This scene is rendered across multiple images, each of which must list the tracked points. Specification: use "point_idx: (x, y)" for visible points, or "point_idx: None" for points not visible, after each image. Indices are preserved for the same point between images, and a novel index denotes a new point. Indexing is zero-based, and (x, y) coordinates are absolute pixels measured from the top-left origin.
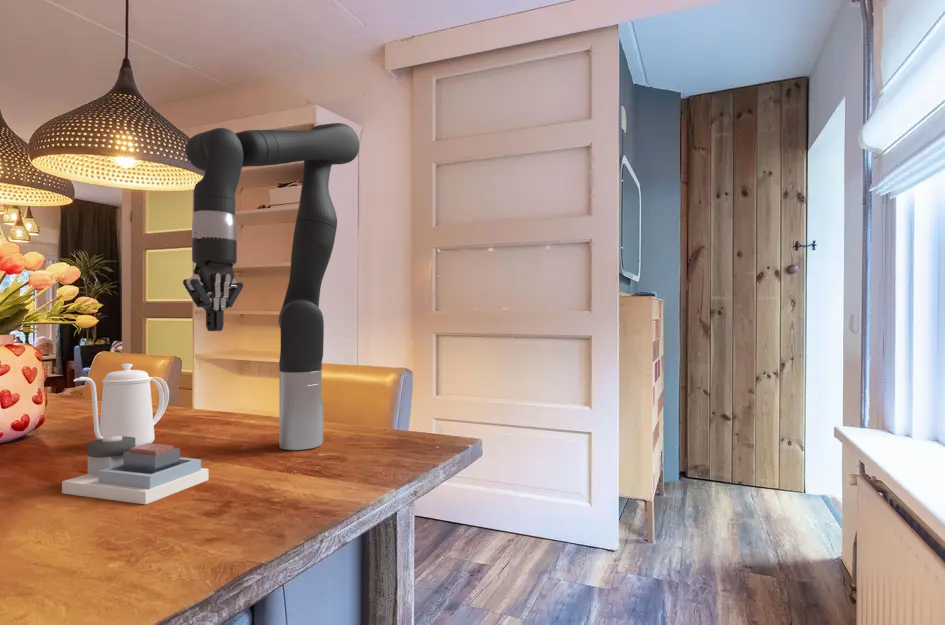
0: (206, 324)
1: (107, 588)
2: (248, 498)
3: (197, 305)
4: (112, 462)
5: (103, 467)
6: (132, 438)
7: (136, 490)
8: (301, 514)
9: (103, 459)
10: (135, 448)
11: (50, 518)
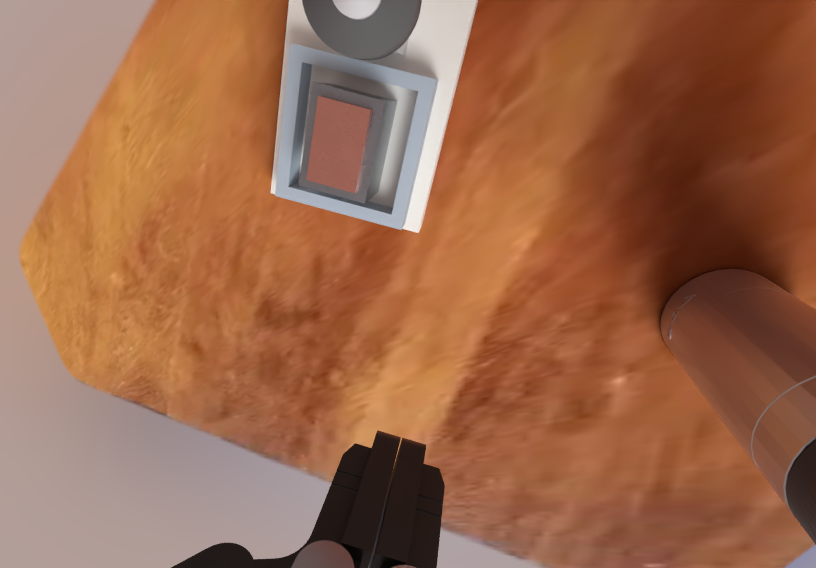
0: (341, 461)
1: (79, 304)
2: (333, 337)
3: (202, 559)
4: None
5: None
6: (393, 33)
7: (273, 170)
8: (287, 420)
9: None
10: (316, 113)
11: (193, 61)
